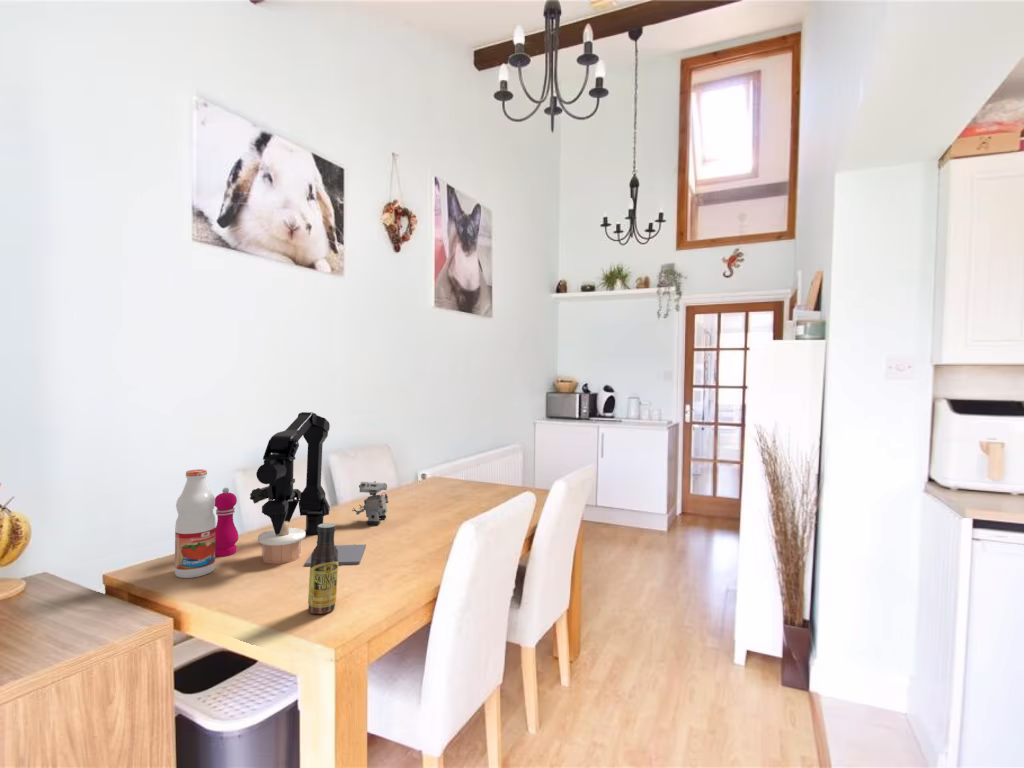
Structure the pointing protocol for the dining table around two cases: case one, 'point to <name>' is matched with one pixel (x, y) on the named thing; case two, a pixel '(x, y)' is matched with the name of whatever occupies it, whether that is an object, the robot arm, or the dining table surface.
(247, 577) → the dining table surface
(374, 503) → the figurine
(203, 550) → the fruit juice
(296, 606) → the dining table surface
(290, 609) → the dining table surface
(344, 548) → the mat
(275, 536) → the lid
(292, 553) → the bowl
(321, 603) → the sauce bottle
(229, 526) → the pepper mill
